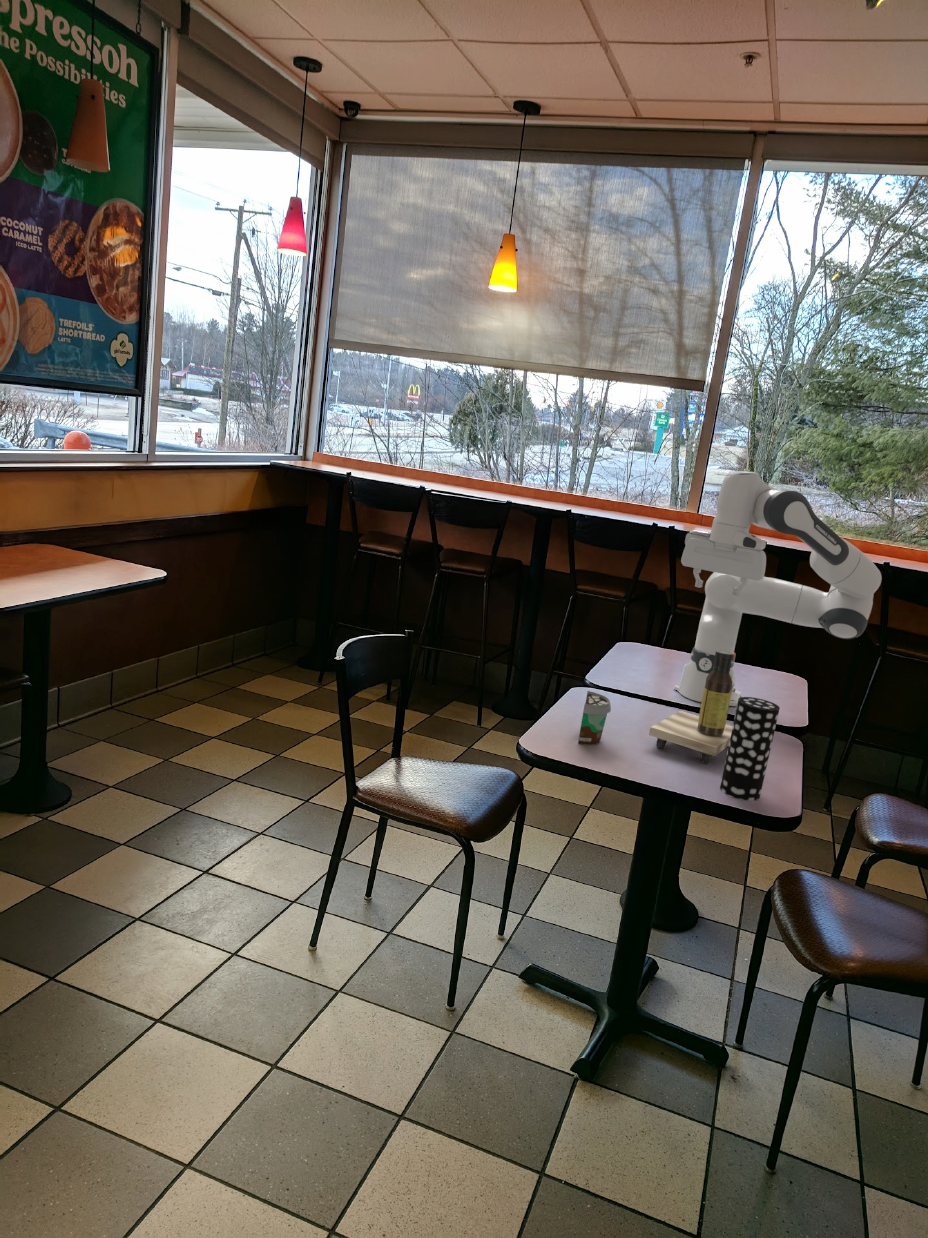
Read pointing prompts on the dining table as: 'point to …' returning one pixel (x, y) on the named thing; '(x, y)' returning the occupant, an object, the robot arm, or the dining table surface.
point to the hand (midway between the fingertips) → (716, 591)
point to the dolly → (689, 735)
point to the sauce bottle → (716, 696)
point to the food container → (593, 718)
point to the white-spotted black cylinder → (749, 748)
